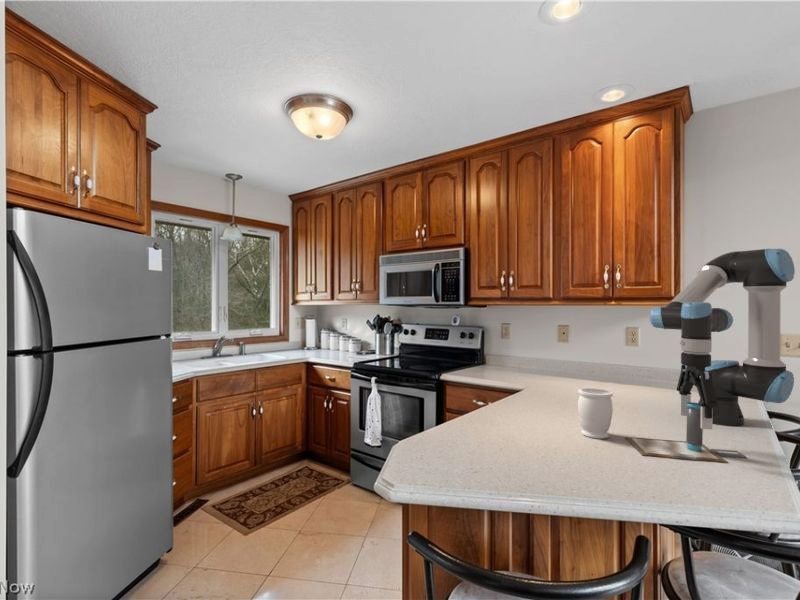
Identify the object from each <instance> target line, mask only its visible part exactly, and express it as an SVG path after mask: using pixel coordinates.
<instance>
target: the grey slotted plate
mask: <svg viewBox="0 0 800 600" xmlns="http://www.w3.org/2000/svg"><path fill="white" fill-rule="evenodd" d="M710 450H712V451H713V452H715V453H716V454H717V455H719V456H720V457H727V458H740V459H747V458H748V457H747V455H744V454H743V453H742V452H739V451H738V450H732V449H731V450H729V449H719V448H710Z"/></svg>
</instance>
